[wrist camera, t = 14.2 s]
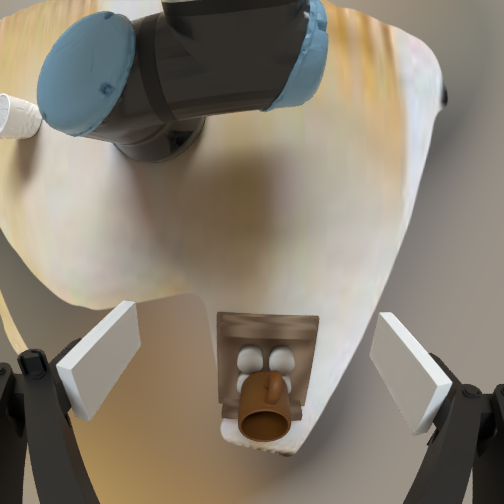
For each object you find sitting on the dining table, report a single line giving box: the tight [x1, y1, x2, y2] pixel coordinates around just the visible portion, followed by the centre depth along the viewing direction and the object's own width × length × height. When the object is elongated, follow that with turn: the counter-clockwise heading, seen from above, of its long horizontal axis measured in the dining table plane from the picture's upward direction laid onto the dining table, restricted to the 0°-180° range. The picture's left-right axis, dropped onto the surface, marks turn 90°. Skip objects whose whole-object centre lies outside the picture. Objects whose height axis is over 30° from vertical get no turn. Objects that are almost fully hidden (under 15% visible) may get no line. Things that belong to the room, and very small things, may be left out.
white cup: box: [0, 94, 42, 139], centre depth 34 cm, size 8×8×10 cm
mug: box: [238, 370, 291, 442], centre depth 39 cm, size 12×8×9 cm, turn 169°
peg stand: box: [217, 312, 319, 421], centre depth 45 cm, size 16×19×5 cm
